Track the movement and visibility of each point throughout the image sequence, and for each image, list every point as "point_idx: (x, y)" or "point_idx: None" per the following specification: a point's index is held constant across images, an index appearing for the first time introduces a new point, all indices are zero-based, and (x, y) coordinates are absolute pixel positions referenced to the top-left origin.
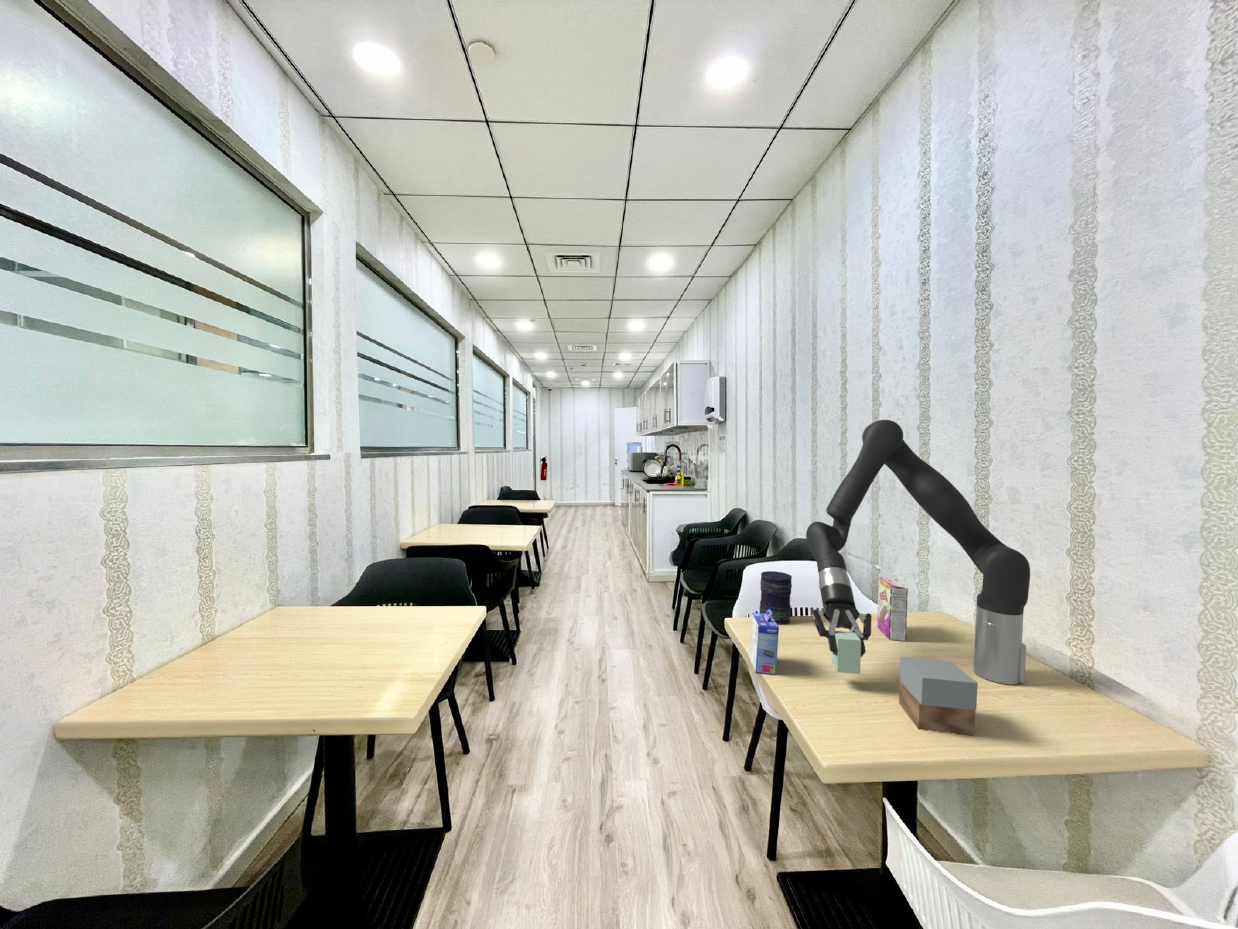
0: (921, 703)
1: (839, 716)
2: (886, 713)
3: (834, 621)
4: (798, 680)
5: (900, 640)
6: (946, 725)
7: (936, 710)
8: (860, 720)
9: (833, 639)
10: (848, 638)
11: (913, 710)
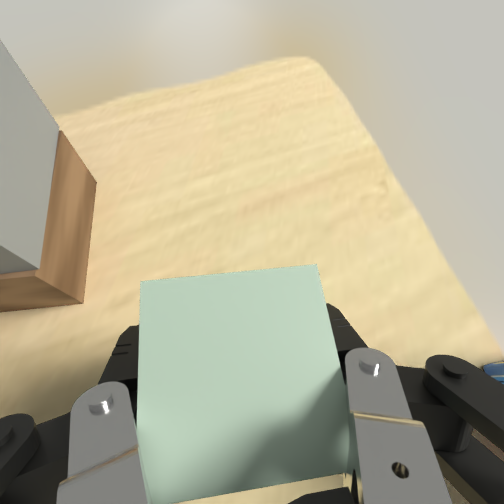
0: (56, 124)
1: (278, 180)
2: (150, 230)
3: (401, 493)
4: (399, 352)
5: None
6: None
7: None
8: (230, 178)
9: (338, 333)
10: (235, 290)
11: (78, 188)
